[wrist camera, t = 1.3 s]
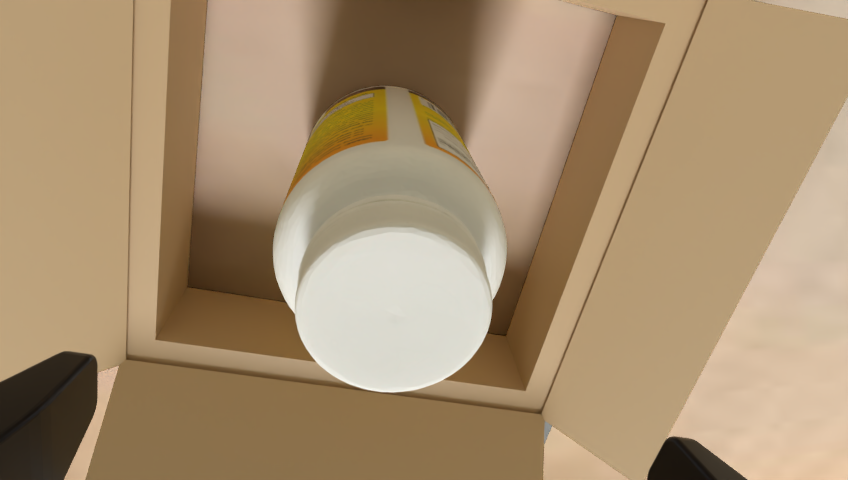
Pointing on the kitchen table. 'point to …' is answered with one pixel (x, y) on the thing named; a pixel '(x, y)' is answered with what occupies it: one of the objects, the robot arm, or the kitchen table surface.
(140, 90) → the carton
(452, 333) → the supplement bottle
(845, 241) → the kitchen table surface
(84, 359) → the robot arm
